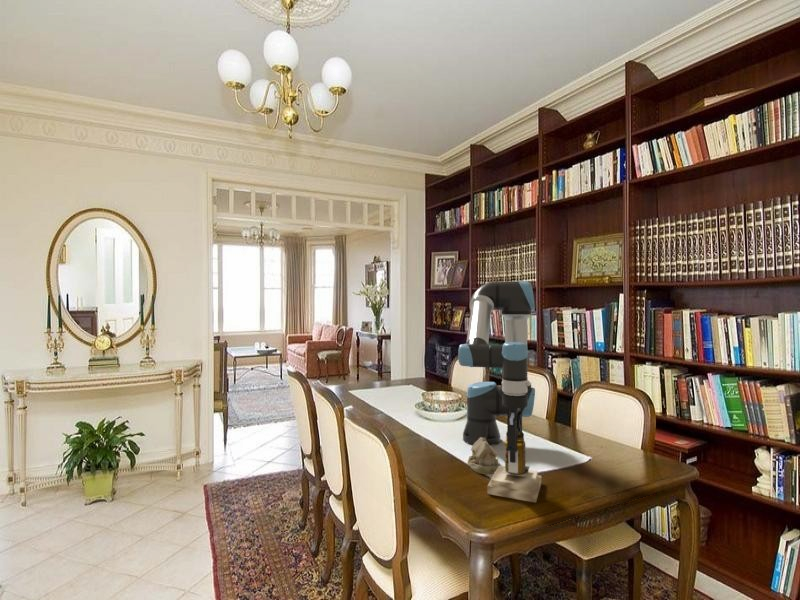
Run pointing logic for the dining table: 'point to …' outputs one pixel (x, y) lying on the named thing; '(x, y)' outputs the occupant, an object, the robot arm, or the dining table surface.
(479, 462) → the ceramic model
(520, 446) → the condiment
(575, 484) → the dining table surface
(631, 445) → the dining table surface
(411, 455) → the dining table surface
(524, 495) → the plinth
